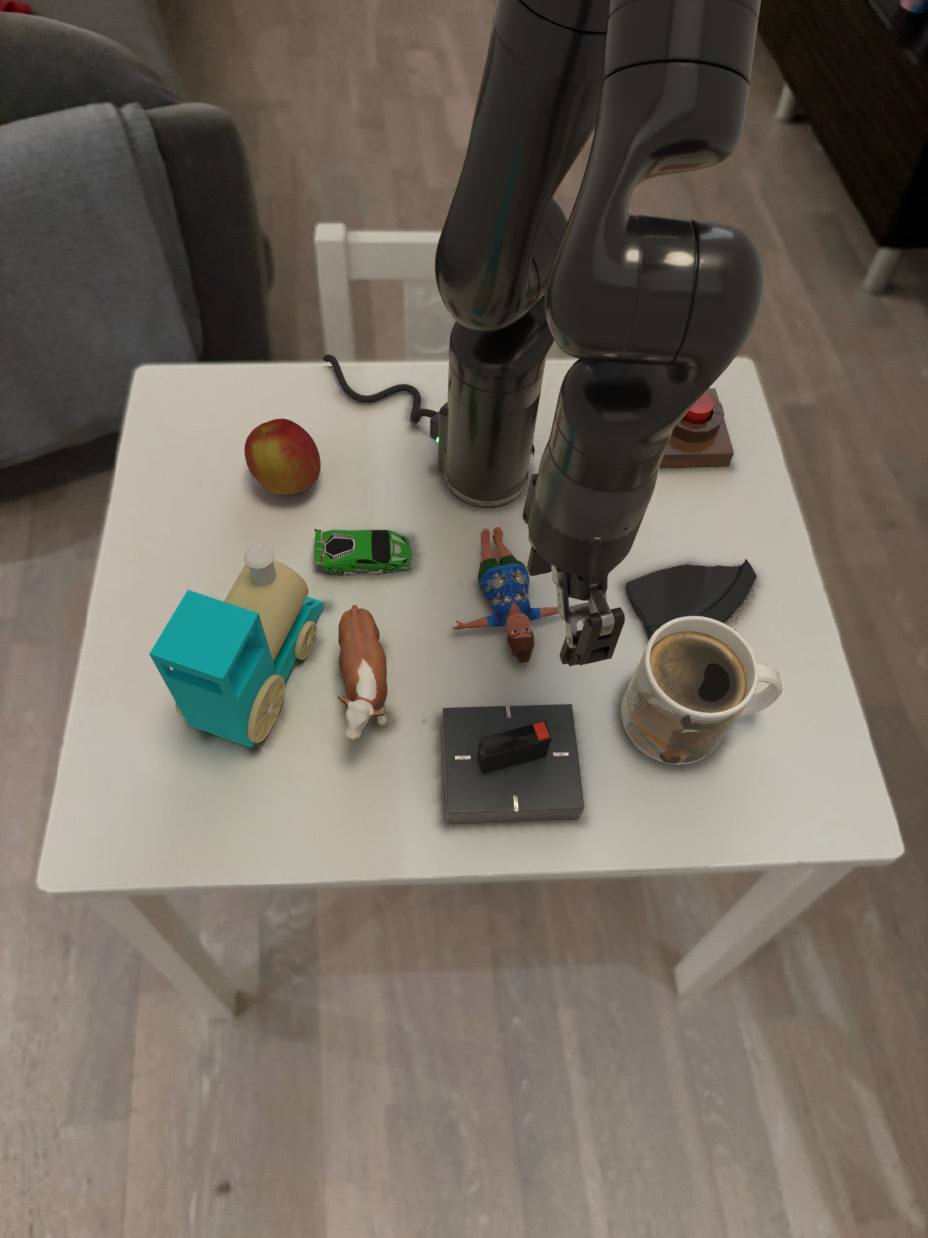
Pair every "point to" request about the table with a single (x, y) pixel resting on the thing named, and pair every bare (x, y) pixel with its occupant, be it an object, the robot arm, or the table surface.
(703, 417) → the button
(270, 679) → the toy train
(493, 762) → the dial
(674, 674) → the mug
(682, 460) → the button block
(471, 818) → the dial panel
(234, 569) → the table surface
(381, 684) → the bull figurine
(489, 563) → the toy character
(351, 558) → the toy car
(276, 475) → the apple
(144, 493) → the table surface
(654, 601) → the fan shaped piece
